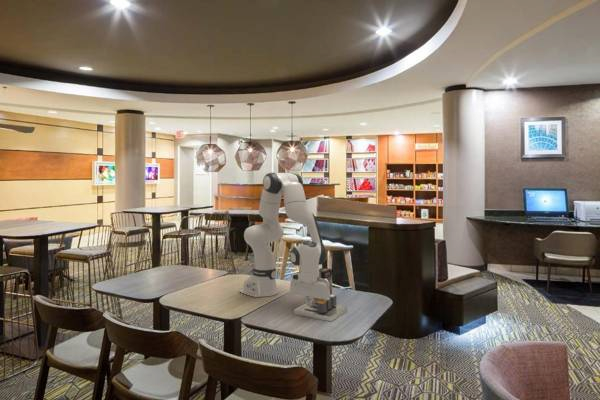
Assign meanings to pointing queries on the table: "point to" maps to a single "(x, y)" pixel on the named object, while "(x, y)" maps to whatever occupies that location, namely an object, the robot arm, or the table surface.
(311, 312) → the panel
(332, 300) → the breaker
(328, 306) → the block
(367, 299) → the table surface
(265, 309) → the table surface
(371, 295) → the table surface
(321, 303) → the breaker
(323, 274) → the coffee box
